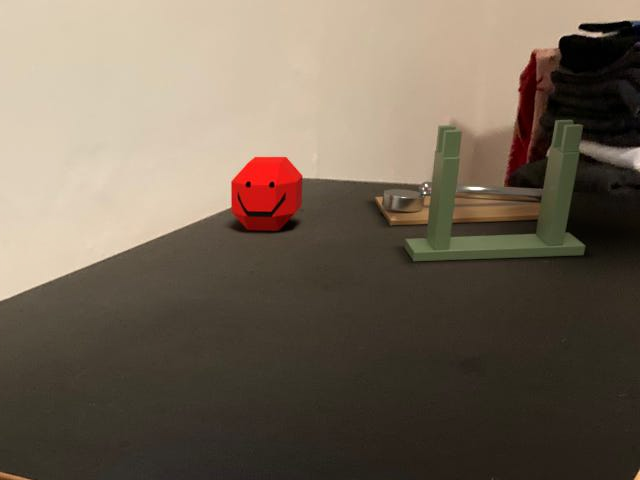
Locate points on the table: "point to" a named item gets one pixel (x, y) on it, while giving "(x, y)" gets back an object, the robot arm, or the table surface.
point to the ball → (266, 193)
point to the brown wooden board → (466, 211)
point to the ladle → (458, 195)
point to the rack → (541, 244)
